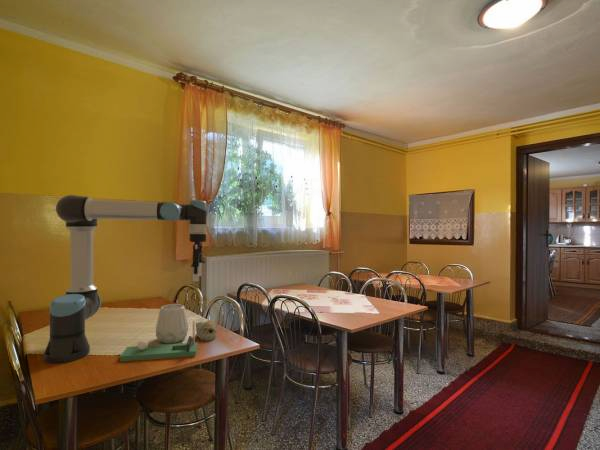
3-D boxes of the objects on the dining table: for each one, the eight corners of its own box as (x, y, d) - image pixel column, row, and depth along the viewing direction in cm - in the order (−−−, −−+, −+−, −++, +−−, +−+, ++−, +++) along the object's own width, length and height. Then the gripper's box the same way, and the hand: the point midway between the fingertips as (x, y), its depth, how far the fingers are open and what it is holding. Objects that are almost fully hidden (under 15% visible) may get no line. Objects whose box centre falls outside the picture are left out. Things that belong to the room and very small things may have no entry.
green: (120, 361, 130) (120, 330, 130) (127, 351, 140) (127, 322, 140) (195, 356, 136) (195, 326, 136) (197, 347, 146) (197, 319, 146)
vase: (168, 347, 146) (169, 312, 145) (148, 340, 153) (149, 307, 153) (194, 338, 157) (195, 305, 157) (175, 332, 165) (175, 301, 165)
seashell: (214, 340, 153) (205, 320, 154) (197, 348, 155) (187, 328, 155) (223, 331, 163) (214, 313, 164) (206, 339, 165) (197, 321, 165)
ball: (136, 352, 134) (136, 342, 134) (138, 348, 138) (138, 338, 138) (146, 351, 135) (146, 341, 135) (148, 348, 139) (149, 338, 139)
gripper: (204, 234, 147) (203, 283, 147) (208, 232, 171) (207, 274, 171) (186, 234, 145) (185, 283, 145) (192, 232, 170) (192, 274, 170)
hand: (197, 278), depth 158 cm, fingers open, 13 cm apart
